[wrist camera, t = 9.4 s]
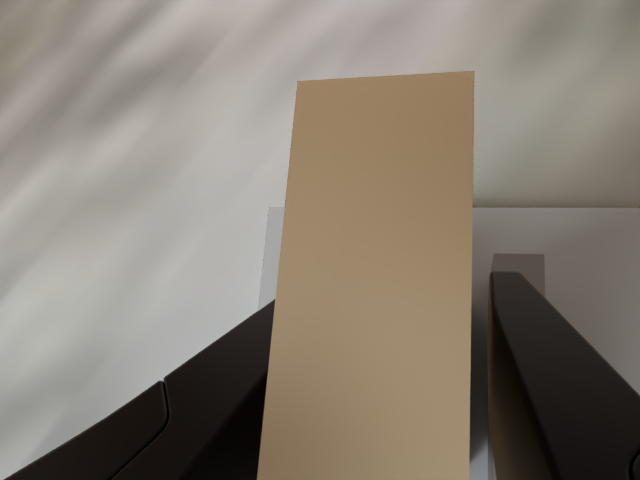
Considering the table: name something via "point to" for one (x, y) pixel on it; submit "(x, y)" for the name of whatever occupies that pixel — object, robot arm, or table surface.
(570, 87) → the table surface
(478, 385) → the slate stand
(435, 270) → the tan wooden block
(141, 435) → the robot arm
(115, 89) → the table surface
